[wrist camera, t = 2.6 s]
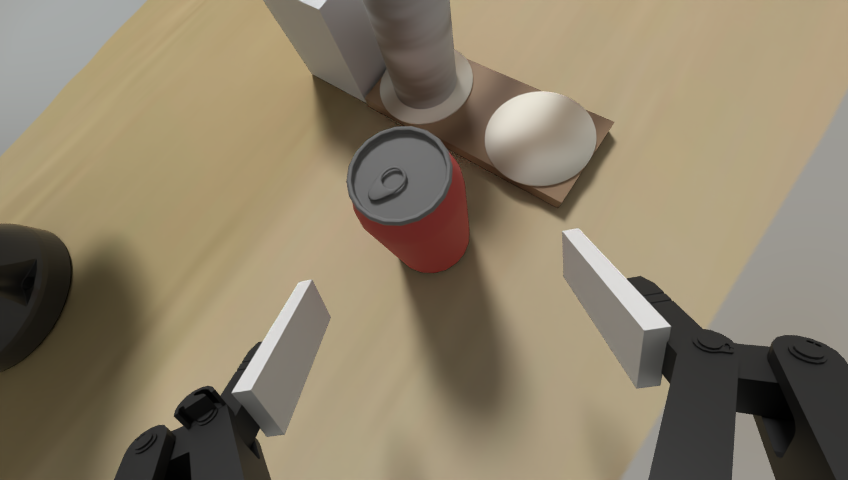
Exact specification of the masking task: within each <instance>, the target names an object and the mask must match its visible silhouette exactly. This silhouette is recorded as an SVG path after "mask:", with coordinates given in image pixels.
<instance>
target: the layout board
mask: <svg viewBox="0 0 848 480" xmlns="http://www.w3.org/2000/svg"><path fill="white" fill-rule="evenodd" d="M363 3H364V6H365V9H366V12H367V14H368V17H369V20H370V23H371V26H372V28H373V31H374V34H375V37H376V40H377V42H378V45H379V48H380V51H381V54H382V56H383V59H384V62H385V65H386V68H387V69H386V70H385V72H384V74H383V76H382V77H381V78H380V79H379V81H378V82H377V83H376V84H375V86H374V87H373V88H372V89H371V91H370V92H369V93H368V95H367V96H366V97H365V100H366V102H367V104H368V106H369V107H371V108H373V109H374V110H376V111H378V112H380V113H382V114H384V115H386V116H387V117H389V118H391V119H393V120H395V121H397V122H399V123H401V124H402V125H404V126H413V127H417V128H420V129H424V130H427V131H429V132H430V133H432V134H433V135H435V136H436V137H438V138H439V139H440V140H441V142H442V143H443V144H444V146H445V147H446V148H447V149H449V150H451V151H453V152H454V153H456V154H458V155H460V156H462V157H464V158H466V159H468V160H469V161H471V162H473V163H475V164H477V165H479V166H481V167H482V168H484V169H486V170H488V171H490V172H492V173H494V174H495V175H497V176H499V177H501V178H503V179H505V180H507V181H508V182H510V183H512V184H514V185H516V186H518V187H520V188H522V189H523V190H525V191H527V192H529V193H531V194H533V195H535V196H536V197H538V198H540V199H542V200H544V201H546V202H548V203H549V204H551V205H553V206H555V207H557V208H559V206H560V204H561V203H562V201H563V200H564V198H565V197H566V195H567V194H568V192H569V191H570V189H571V188H572V186H573V185H574V183H575V182H576V180H577V179H578V177H579V176H580V174H581V172H582V171H583V169H584V168H585V166H586V165H587V163H588V162H589V160H590V159H591V157H592V156H593V154H594V153H595V151H596V150H597V148H598V147H599V145H600V143H601V142H602V140H603V139H604V137H605V136H606V134H607V133H608V131H609V130H610V128H611V127H612V125H613V124H614V122H613V121H611V120H608V119H606V118H604V117H601V116H599V115H597V114H594V113H592V112H590V111H587V110H585V109H584V108H583V107H582V106H581V105H580V104H579V103H577V102H576V101H574V100H573V99H571V98H569V97H567V96H564V95H561V94H558V93H554V92H543V91H541V90H538V89H536V88H534V87H531V86H529V85H527V84H524V83H522V82H520V81H517V80H515V79H513V78H510V77H508V76H506V75H503V74H501V73H499V72H496V71H494V70H492V69H489V68H487V67H485V66H482V65H480V64H478V63H475V62H473V61H471V60H468V59H466V58H465V57H464V56H463V55H462V54H461V53H460V52H458V51H457V50H455V49H454V44H453V33H452V22H451V11H450V0H363Z"/></svg>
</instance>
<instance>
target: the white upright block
mask: <svg viewBox="0 0 848 480" xmlns="http://www.w3.org/2000/svg"><path fill="white" fill-rule="evenodd" d="M263 1H264V2H265V4H266V5H267V7H268V8H269V10H270V11H271V13H272V14H273V16H274V18H275V19H276V21H277V22H278V24H279V25H280V27H281V28H282V30H283V31H284V33H285V34H286V36H287V37H288V39H289V40H290V42H291V43H292V45H293V46H294V48H295V49H296V51H297V52H298V54H299V55H300V57H301V58H302V60H303V61H304V63H305V64H306V66H307V67H308V69H309V70H310V72H311V73H312V74H313V75H315V76H317V77H319V78H320V79H322V80H324V81H326V82H328V83H330V84H332V85H334V86H335V87H337V88H339V89H341V90H343V91H345V92H347V93H348V94H350V95H352V96H354V97H356V98H358V99H360V100H362V101H363V102H365V103H366V100H365V97H366V96H367V95H368V93H369V92H370V91H371V89H372V88H373V87H374V86H375V84H376V83H377V82H378V81H379V79H380V78H381V77H382V76H383V74H384V72H385V70H386V69H387V68H386V65H385V62H384V59H383V56H382V54H381V51H380V48H379V45H378V42H377V40H376V37H375V34H374V31H373V28H372V26H371V23H370V20H369V17H368V14H367V12H366V9H365V6H364V3H363V0H263Z"/></svg>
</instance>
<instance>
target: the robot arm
mask: <svg viewBox="0 0 848 480" xmlns="http://www.w3.org/2000/svg"><path fill="white" fill-rule="evenodd" d="M562 243H563V277H564V278H565V280H566V281H567V283H568V284H569V286H570V287H571V289H572V290H573V292H574V293H575V295H576V297H577V298H578V300H579V301H580V303H581V304H582V306H583V307H584V309H585V310H586V312H587V313H588V315H589V316H590V318H591V320H592V321H593V323H594V324H595V326H596V327H597V329H598V330H599V332H600V333H601V335H602V336H603V338H604V340H605V341H606V343H607V344H608V346H609V347H610V349H611V350H612V352H613V353H614V355H615V356H616V358H617V359H618V361H619V363H620V364H621V366H622V367H623V369H624V370H625V372H626V373H627V375H628V376H629V378H630V379H631V381H632V383H633V384H634V386H635V387H636V389H637V388H645V387H652V386H660V384H661V378H662V374H663V375H664V377H665V378H666V379H667V381H668V382H669V383H670V387H669V392H668V396H667V400H666V405H665V409H664V414H663V418H662V422H661V427H660V431H659V436H658V440H657V444H656V449H655V453H654V457H653V462H652V466H651V471H650V475H649V479H648V480H732V466H733V450H734V432H735V416H736V412H739V413H746V414H753V416H754V419H755V422H756V425H757V427H758V431H759V433H760V436H761V439H762V442H763V445H764V448H765V450H766V453H767V456H768V459H769V462H770V465H771V468H772V470H773V473H774V476H775V479H776V480H848V364H847V362H846V361H845V359H844V358H843V357H842V356H841V355H840V354H839V353H838V352H837V351H835V350H834V349H832V348H830V347H829V346H827V345H825V344H823V343H821V342H818V341H815V340H813V339H810V338H806V337H801V336H795V335H784V336H780V337H777V338H776V339H775V340H774V341H773V342H772V344H771V346H770V347H766V346H755V345H744V344H737V343H733V341H732V340H730V339H729V338H727V337H726V336H724V335H722V334H720V333H717V332H714V331H711V330H706V329H702V328H701V327H700V326H699V325H698V324H697V323H696V322H695V321H694V320H693V319H692V318H691V317H690V316H689V315H687V314H686V313H685V312H684V311H683V310H682V309H681V308H680V307H679V306H678V305H677V304H676V303H675V302H674V301H672V300H671V298H670V297H668V296H667V295H666V294H664V292H663V291H662V290H661V289H660V288H659V287H658V286H657V285H656V284H655V283H653V282H651V281H649V280H647V279H645V278H643V277H641V276H638V277H633V278H627V279H626V278H625V277H624V276H623V275H622V274H621V273H620V272H619V271H618V270H617V268H616V267H615V266H614V265H613V264H612V263H611V262H610V261H609V260H608V259H607V258H606V257H605V256H604V255H603V254H602V253H601V252H600V250H599V249H598V248H597V247H596V246H595V245H594V244H593V243H592V242H591V241H590V240H589V239H588V238H587V237H586V236H585V235H584V234H583V232H582V231H581V230H580V229H579V228H576V229H571V230H566V231H562ZM70 275H71V266H70V259H69V255H68V252H67V249H66V247H65V245H64V244H63V242H62V241H61V240H60V239H59V238H58V237H57V236H56V235H54V234H53V233H51V232H49V231H46V230H41V229H36V228H32V227H27V226H23V225H17V224H0V372H1V371H3V370H6V369H8V368H10V367H12V366H14V365H15V364H17V363H18V362H20V361H21V360H23V359H24V358H25V357H26V356H28V355H29V354H30V353H31V352H32V351H33V350H34V349H35V348H36V347H37V346H38V345H39V344H40V343H41V342H42V341H43V339H44V338H45V337H46V336H47V334H48V333H49V331H50V330H51V328H52V327H53V325H54V324H55V322H56V320H57V318H58V316H59V314H60V312H61V310H62V308H63V305H64V303H65V300H66V297H67V293H68V289H69V284H70ZM330 318H331V317H330V315H329V313H328V310H327V308H326V306H325V304H324V302H323V300H322V298H321V296H320V294H319V292H318V290H317V288H316V286H315V284H314V282H313V280H306V281H301V282H299V283H298V284H297V286H296V288H295V289H294V291H293V293H292V294H291V296H290V298H289V299H288V301H287V302H286V304H285V306H284V307H283V309H282V311H281V312H280V314H279V316H278V317H277V319H276V320H275V322H274V324H273V325H272V327H271V329H270V330H269V332H268V334H267V335H266V337H265V339H264V340H263V341H262V342H258V343H257V344H256V345H255V346H254V347H253V348H252V349H251V350H250V351H249V352H248V353H247V355H246V357H245V358H244V360H243V361H242V364H240V366H239V368H238V369H237V372H235V374H234V375H233V377H232V378H231V380H230V382H229V383H228V385H227V386H226V388H225V389H224V391H223V393H222V394H221V396H220V395H219V394H218V393H217V392H216V390H215V389H214V388H213V387H211V386H205V387H201V388H199V389H197V390H195V391H193V392H192V393H191V394H189V395H188V396H187V397H186V398H185V399H184V400H183V401H182V402H181V403H180V404H179V405H178V407H177V408H176V410H175V413H174V417H175V418H176V419H177V420H178V421H179V422H180V423H181V424H182V425H183V427H180V428H178V429H176V430H173V431H170V430H169V429H168V428H167V427H166V426H165V425H158V426H155V427H152V428H150V429H149V430H147V431H145V432H144V433H142V434H141V435H140V436H139V437H138V438H136V439H135V441H134V442H133V443H132V444H131V445H130V446H129V448H128V449H127V451H126V453H125V454H124V457H123V459H122V462H121V464H120V466H119V469H118V471H117V474H116V476H115V479H114V480H271V478H270V475H269V472H268V469H267V465H266V462H265V459H264V456H263V453H262V449H261V446H260V443H259V442H258V440H257V439H256V435H257V433H258V431H259V429H261V430H262V431H263V433H264V434H265V435H266V436H267V437H269V436H277V435H285V433H286V430H287V427H288V425H289V422H290V420H291V417H292V415H293V412H294V410H295V407H296V405H297V402H298V400H299V397H300V394H301V392H302V389H303V387H304V384H305V382H306V379H307V377H308V374H309V372H310V369H311V367H312V364H313V361H314V359H315V356H316V354H317V351H318V349H319V346H320V344H321V341H322V339H323V336H324V334H325V331H326V328H327V326H328V323H329V321H330Z"/></svg>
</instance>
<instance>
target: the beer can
mask: <svg viewBox="0 0 848 480" xmlns="http://www.w3.org/2000/svg"><path fill="white" fill-rule="evenodd" d="M346 182H347V187H348V193H349V197H350V199H351V200H352V203H353V209H354V211H355V214H356V216H357V217H358V219H359V221H360V222H361V224H362V226H363V228H364V229H365V230H366V231H368V232H369V233H370V234H371V235H372V236H373V237H375V238H376V239H377V240H378V241H379V242H380V243H382V244H383V245H384V246H385V247H386V248H387V249H389V250H390V251H391V252H392V253H393V254H394V255H396V256H397V257H398V258H399V259H400V260H401V261H403V262H404V263H405V264H406V265H407V266H409V267H410V268H412V269H414V270H417V271H419V272H424V273H436V272H439V271H443V270H446V269H448V268H449V267H451V266H453V265H454V264H456V263H457V262H458V261H459V259H460V258H461V257H462V256H463V255H464V253H465V251H466V248H467V245H468V243H469V221H468V211H467V201H466V191H465V182H464V179H463V176H462V172H461V169H460V166H459V165H458V163H457V162H456V160H455V159H454V158H453V156H452V155H451V154H450V152H449V151H448V150H447V148H446V147H445V146H444V144H443V143H442V142H441V140H440V139H439V138H438V137H436V136H435V135H433V134H432V133H430V132H429V131H427V130H424V129H420V128H417V127H413V126H400V127H393V128H390V129H387V130H383V131H380V132H379V133H377V134H375V135H374V136H372V137H371V138H369V139H368V140H366V141H365V142H364V144H363V145H362V146H361V147H360V148H359V149H358V150H357V151H356V153H355V155H354V157H353V159H352V161H351V163H350V165H349V168H348V174H347V181H346Z"/></svg>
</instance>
